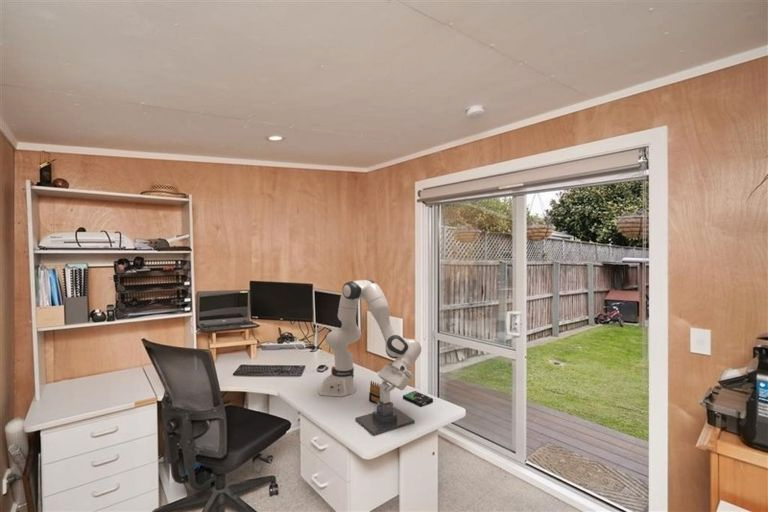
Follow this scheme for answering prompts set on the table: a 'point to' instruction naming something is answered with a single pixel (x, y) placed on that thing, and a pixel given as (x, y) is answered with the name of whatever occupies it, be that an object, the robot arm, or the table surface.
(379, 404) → the metal stepped base
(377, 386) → the ammunition clip
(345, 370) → the robot arm
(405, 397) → the disk drive
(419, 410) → the table surface
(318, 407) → the table surface
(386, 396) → the column
